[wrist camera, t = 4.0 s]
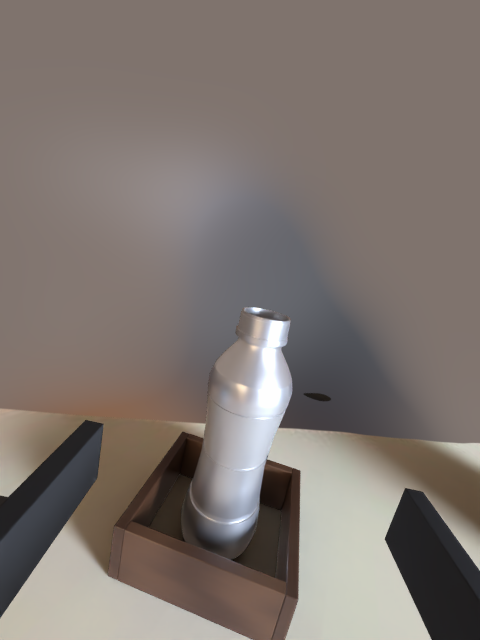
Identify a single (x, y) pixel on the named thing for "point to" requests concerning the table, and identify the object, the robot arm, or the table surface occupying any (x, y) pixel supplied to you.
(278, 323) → the silver metal bottle
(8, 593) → the robot arm
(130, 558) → the walnut box
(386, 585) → the table surface
